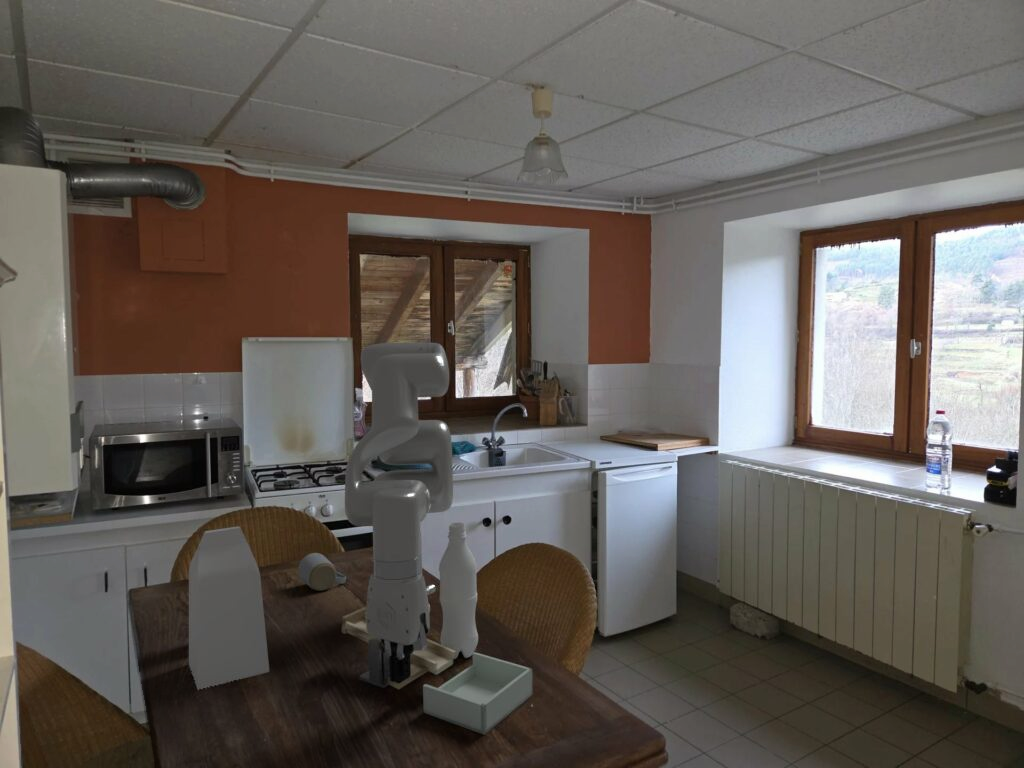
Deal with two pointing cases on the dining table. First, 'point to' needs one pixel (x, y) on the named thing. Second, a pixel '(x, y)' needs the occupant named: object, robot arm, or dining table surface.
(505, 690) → the tray
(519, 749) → the dining table surface
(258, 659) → the milk
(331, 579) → the ceramic mug
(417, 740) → the dining table surface
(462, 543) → the water bottle
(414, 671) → the lever
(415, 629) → the robot arm
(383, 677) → the fulcrum
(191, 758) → the dining table surface
